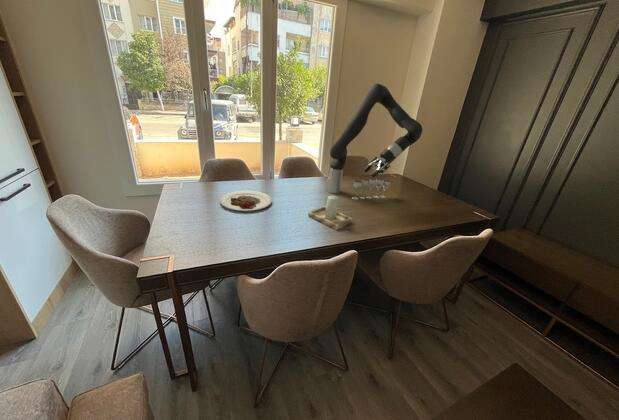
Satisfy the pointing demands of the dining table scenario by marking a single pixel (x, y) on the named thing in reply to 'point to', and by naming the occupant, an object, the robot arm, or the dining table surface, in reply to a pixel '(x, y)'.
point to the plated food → (246, 200)
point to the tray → (335, 224)
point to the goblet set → (371, 186)
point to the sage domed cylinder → (331, 207)
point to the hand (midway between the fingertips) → (368, 173)
